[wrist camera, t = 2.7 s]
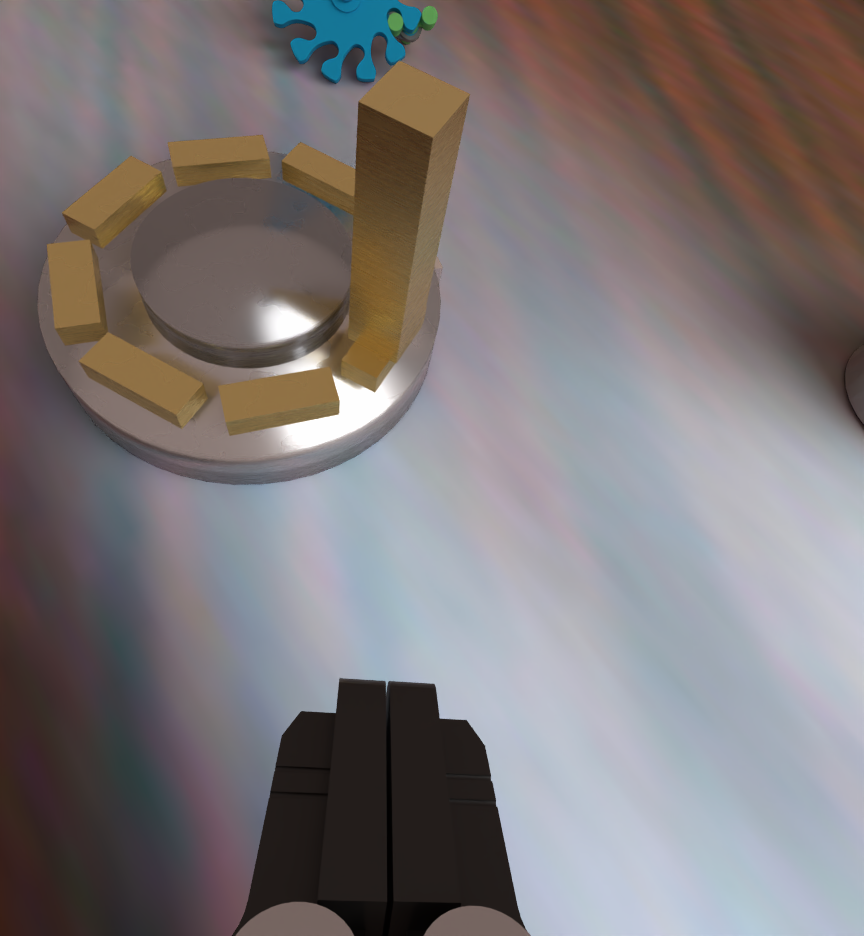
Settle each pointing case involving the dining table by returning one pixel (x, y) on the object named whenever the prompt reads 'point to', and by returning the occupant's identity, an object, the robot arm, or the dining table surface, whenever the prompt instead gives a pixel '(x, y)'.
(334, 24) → the blue lobed toy
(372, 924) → the robot arm
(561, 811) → the dining table surface
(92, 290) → the peg on ring base
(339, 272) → the grey round piece
